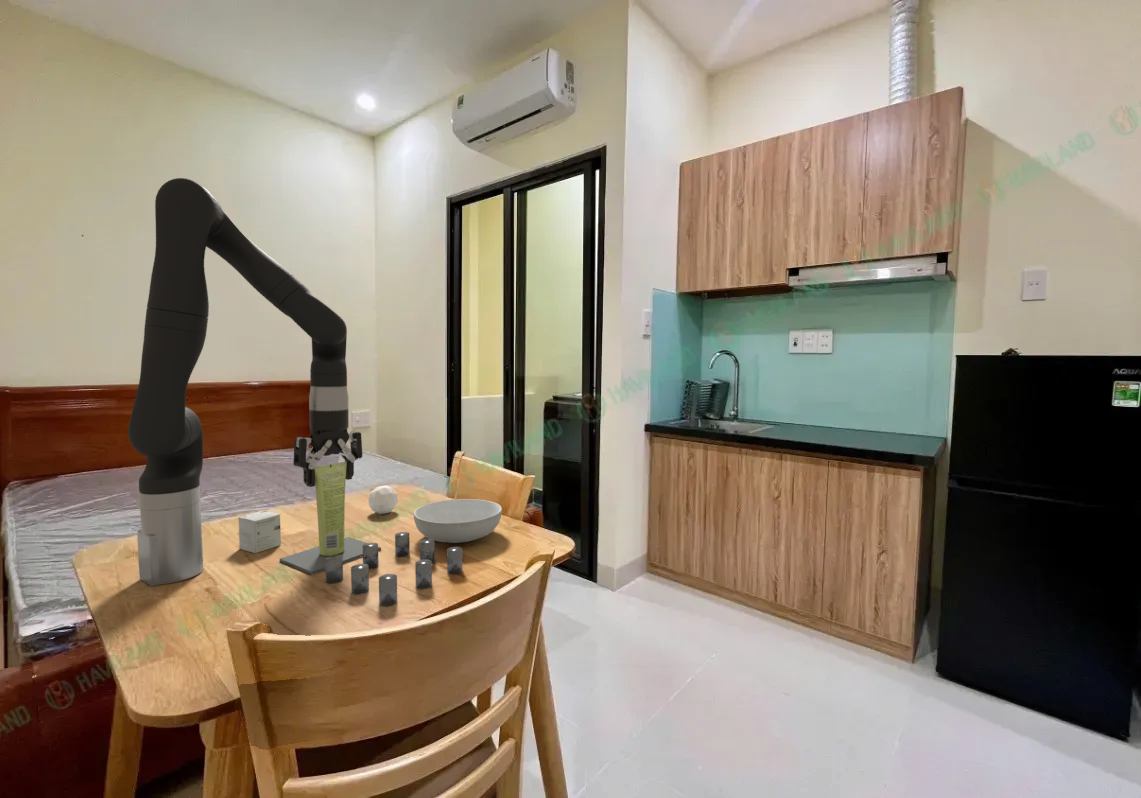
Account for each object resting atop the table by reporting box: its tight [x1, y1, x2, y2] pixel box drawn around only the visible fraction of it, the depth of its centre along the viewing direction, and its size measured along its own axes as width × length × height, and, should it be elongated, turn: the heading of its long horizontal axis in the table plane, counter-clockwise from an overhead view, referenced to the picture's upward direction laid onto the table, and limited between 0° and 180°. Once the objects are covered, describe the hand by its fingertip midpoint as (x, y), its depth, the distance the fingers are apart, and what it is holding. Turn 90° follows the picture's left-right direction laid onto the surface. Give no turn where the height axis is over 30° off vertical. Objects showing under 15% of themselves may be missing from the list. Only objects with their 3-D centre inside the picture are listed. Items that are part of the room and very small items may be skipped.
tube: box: [313, 461, 347, 556], centre depth 110 cm, size 6×5×20 cm
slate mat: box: [279, 536, 382, 575], centre depth 110 cm, size 16×12×1 cm
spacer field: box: [325, 531, 463, 607], centre depth 100 cm, size 19×19×4 cm
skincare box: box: [238, 510, 282, 554], centre depth 115 cm, size 6×6×7 cm
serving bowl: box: [413, 498, 503, 544], centre depth 123 cm, size 21×21×7 cm
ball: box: [367, 484, 399, 515], centre depth 141 cm, size 8×8×8 cm
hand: (329, 482), depth 109 cm, fingers open, 8 cm apart
